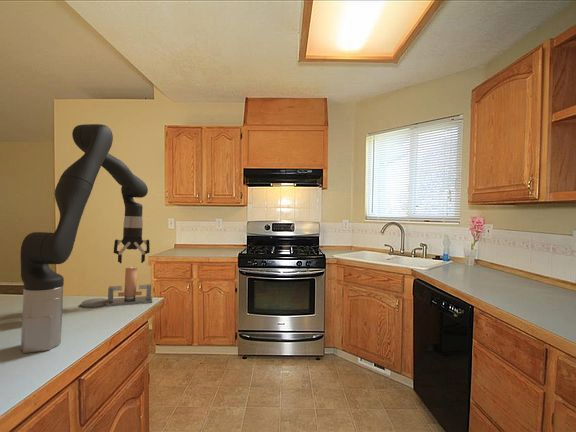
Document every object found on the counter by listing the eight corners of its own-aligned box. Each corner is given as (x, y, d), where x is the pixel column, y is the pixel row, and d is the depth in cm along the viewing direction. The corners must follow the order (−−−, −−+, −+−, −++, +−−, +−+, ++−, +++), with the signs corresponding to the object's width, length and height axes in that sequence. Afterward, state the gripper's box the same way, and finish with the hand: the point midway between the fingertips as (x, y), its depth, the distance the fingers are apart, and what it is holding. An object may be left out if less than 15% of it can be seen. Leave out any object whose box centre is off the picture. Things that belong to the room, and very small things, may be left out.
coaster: (108, 306, 129) (108, 303, 129) (79, 308, 125) (79, 305, 125) (110, 300, 138) (110, 297, 138) (83, 302, 134) (83, 299, 134)
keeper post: (152, 302, 137) (152, 287, 137) (105, 306, 130) (106, 289, 130) (151, 298, 145) (152, 283, 145) (107, 301, 137) (108, 285, 137)
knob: (141, 295, 137) (142, 268, 137) (117, 297, 133) (119, 268, 133) (141, 293, 141) (142, 266, 141) (118, 294, 137) (119, 267, 137)
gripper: (114, 226, 131) (112, 264, 131) (150, 227, 137) (149, 263, 137) (115, 225, 137) (113, 262, 137) (150, 226, 144) (148, 261, 144)
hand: (131, 262), depth 137 cm, fingers open, 8 cm apart
